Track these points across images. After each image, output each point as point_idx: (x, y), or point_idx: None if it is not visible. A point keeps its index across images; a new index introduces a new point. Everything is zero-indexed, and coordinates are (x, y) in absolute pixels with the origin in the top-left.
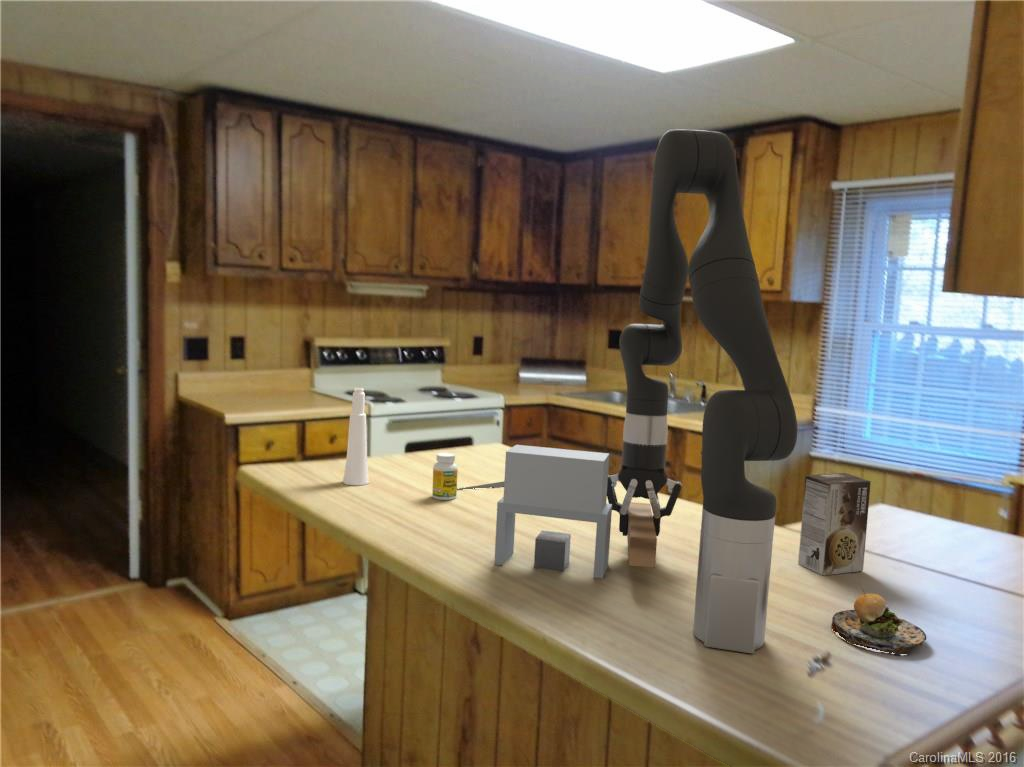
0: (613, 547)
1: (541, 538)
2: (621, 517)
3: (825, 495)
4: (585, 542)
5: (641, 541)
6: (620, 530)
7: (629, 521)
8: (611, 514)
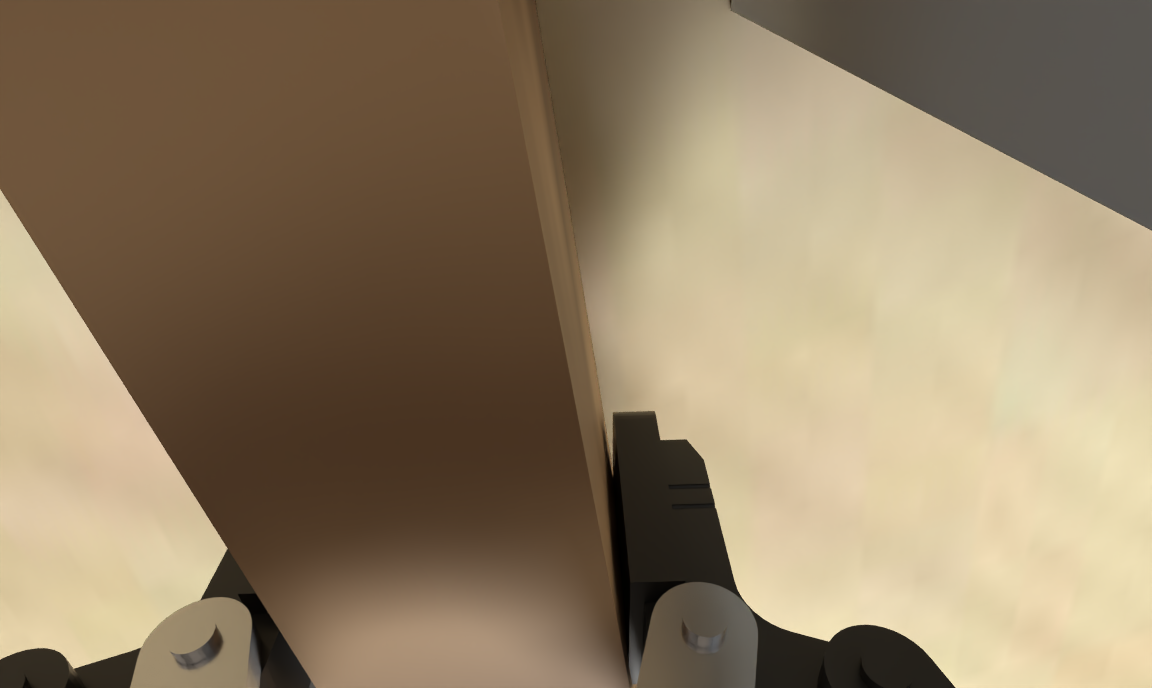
0: (709, 463)
1: None
2: (707, 568)
3: None
4: (912, 484)
5: None
6: (684, 451)
7: (528, 158)
8: (1012, 143)
